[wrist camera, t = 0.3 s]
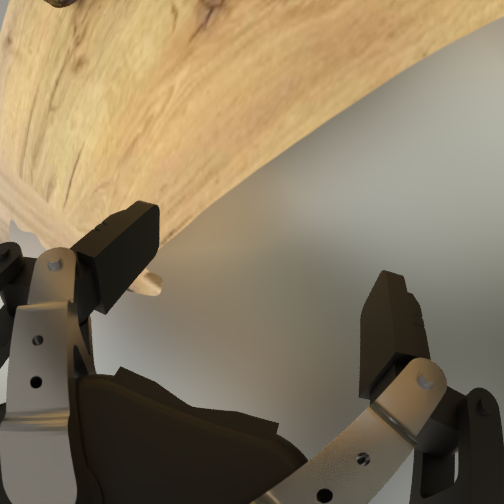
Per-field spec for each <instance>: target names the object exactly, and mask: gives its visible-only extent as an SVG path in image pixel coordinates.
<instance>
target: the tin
mask: <svg viewBox="0 0 504 504" xmlns="http://www.w3.org/2000/svg"><path fill="white" fill-rule="evenodd" d="M44 1H46V2H47V3H49V4H50V5H52V6H53V7H56V8H63V7H66V6H69V5H71V4H73V3H75V2H76V1H77V0H44Z"/></svg>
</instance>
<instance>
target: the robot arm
mask: <svg viewBox="0 0 504 504" xmlns="http://www.w3.org/2000/svg"><path fill="white" fill-rule="evenodd" d="M159 219H160V210H159V207H158V205H155V204H151V203H147V202H143V201H137V202H135V203H134V204H133V205H131V206H130V207H129V208H127V209H126V210H122V211H119V212H117V213H114V214H112V215H110V216H109V217H108V218H106V219H105V220H104V221H103V222H102V224H99V225H98V226H96V227H95V229H94V230H91V231H90V232H89V233H88V234H86V235H85V236H84V237H83V238H82V239H80V240H79V241H78V242H77V243H76V244H74V245H73V246H72V247H71V248H70V249H68V248H63V247H59V248H53V249H50V250H47V251H45V252H44V253H42V254H41V255H40V256H39V257H38V258H29V257H23V255H22V251H21V248H20V246H19V245H18V244H17V243H15V242H5V243H2V244H0V296H1V299H2V301H3V303H4V305H3V306H2V308H1V309H0V368H1V367H2V366H3V364H4V363H5V361H6V360H7V359H8V357H9V367H8V378H7V399H6V403H3V404H0V504H368V503H369V502H370V501H371V499H372V498H373V497H374V496H375V495H376V494H377V493H378V492H379V491H380V490H381V489H382V487H383V486H384V485H385V484H386V483H387V482H388V481H389V479H390V478H391V477H392V476H393V474H394V473H395V472H396V471H397V470H398V468H399V467H400V466H401V465H402V463H403V462H404V461H405V460H406V458H407V457H408V456H409V454H410V453H411V452H412V450H413V449H414V463H413V476H412V485H411V494H410V502H409V504H504V443H503V433H502V425H501V418H500V412H499V406H498V403H497V402H496V399H495V398H494V396H493V395H492V394H491V393H490V392H489V391H487V390H486V389H483V388H475V389H473V390H472V391H470V392H469V393H468V394H467V395H466V396H465V395H463V394H461V393H459V392H457V391H455V390H453V389H452V388H450V387H448V386H447V380H446V377H445V374H444V373H443V371H442V369H441V368H440V367H439V366H438V365H437V364H436V363H434V362H433V361H431V359H430V353H429V347H428V342H427V336H426V331H425V329H424V322H423V319H422V312H421V308H420V305H419V303H418V302H417V300H416V298H415V297H414V296H413V294H411V293H408V292H407V288H406V284H405V279H404V277H403V276H402V275H398V274H395V273H392V272H389V271H385V270H383V271H382V272H381V273H380V275H379V277H378V278H377V281H376V282H375V285H374V286H373V288H372V290H371V292H370V294H369V296H368V298H367V300H366V302H365V304H364V306H363V310H362V313H361V319H360V339H361V341H360V381H359V398H364V399H369V400H370V406H369V407H368V408H367V409H366V410H365V411H364V412H363V413H362V414H361V415H360V416H359V417H358V418H357V419H356V420H355V421H354V422H353V423H352V424H351V425H350V426H348V428H346V429H345V430H344V431H343V432H342V433H341V434H340V435H339V436H337V437H336V438H335V439H334V440H333V441H332V442H331V443H330V444H328V445H327V446H326V447H325V448H324V449H323V450H321V451H320V452H319V453H318V454H317V455H315V456H314V457H313V458H312V459H311V460H309V461H308V460H307V458H306V457H305V456H304V454H302V452H301V451H300V450H299V449H298V448H297V447H295V446H294V445H293V444H292V443H291V442H289V441H288V440H286V439H285V438H283V437H281V436H279V435H278V434H276V433H277V429H278V425H279V423H276V422H272V421H268V420H265V419H261V418H257V417H254V416H250V415H247V414H244V413H240V412H236V411H224V410H214V409H204V408H196V407H192V406H190V405H188V404H186V403H185V402H183V401H182V400H180V399H179V398H177V397H176V396H174V395H173V394H172V393H170V392H169V391H167V390H166V389H164V388H163V387H162V386H160V385H159V384H158V383H156V382H155V381H152V380H150V379H148V378H145V377H143V376H141V375H138V374H136V373H134V372H132V371H130V370H127V369H125V368H123V367H120V368H119V369H118V371H117V373H116V374H115V375H114V376H113V375H104V374H96V370H95V365H94V358H93V345H92V329H91V318H90V314H91V313H92V312H93V310H96V311H98V312H100V313H103V314H105V315H106V314H107V313H108V311H109V310H110V309H111V308H112V307H113V305H114V304H115V303H116V302H117V300H118V299H119V298H120V297H121V296H122V294H123V293H124V292H125V291H126V290H127V288H128V287H129V286H130V285H131V284H132V283H133V281H134V280H135V279H136V278H137V277H138V275H139V274H140V273H141V272H142V271H143V270H144V269H145V267H146V266H147V265H148V264H149V263H150V261H151V260H152V259H153V258H154V257H155V255H156V253H157V251H158V247H159ZM457 451H458V456H459V459H458V460H459V466H458V469H459V470H458V477H457V479H456V481H455V483H454V475H455V453H456V452H457Z"/></svg>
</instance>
